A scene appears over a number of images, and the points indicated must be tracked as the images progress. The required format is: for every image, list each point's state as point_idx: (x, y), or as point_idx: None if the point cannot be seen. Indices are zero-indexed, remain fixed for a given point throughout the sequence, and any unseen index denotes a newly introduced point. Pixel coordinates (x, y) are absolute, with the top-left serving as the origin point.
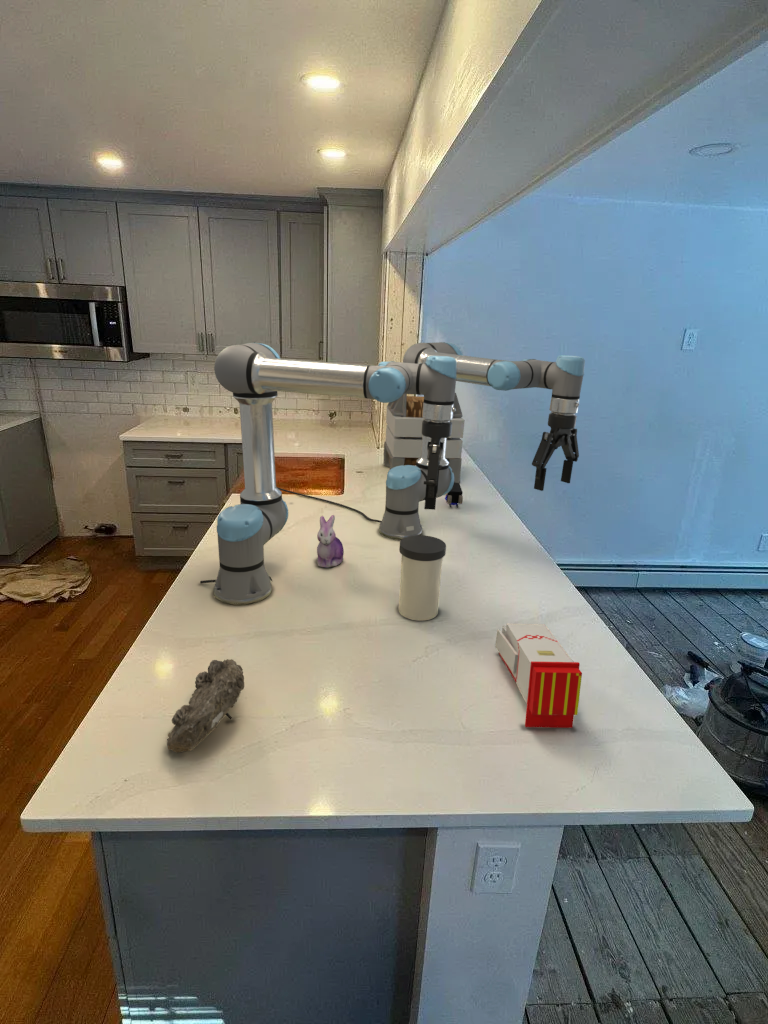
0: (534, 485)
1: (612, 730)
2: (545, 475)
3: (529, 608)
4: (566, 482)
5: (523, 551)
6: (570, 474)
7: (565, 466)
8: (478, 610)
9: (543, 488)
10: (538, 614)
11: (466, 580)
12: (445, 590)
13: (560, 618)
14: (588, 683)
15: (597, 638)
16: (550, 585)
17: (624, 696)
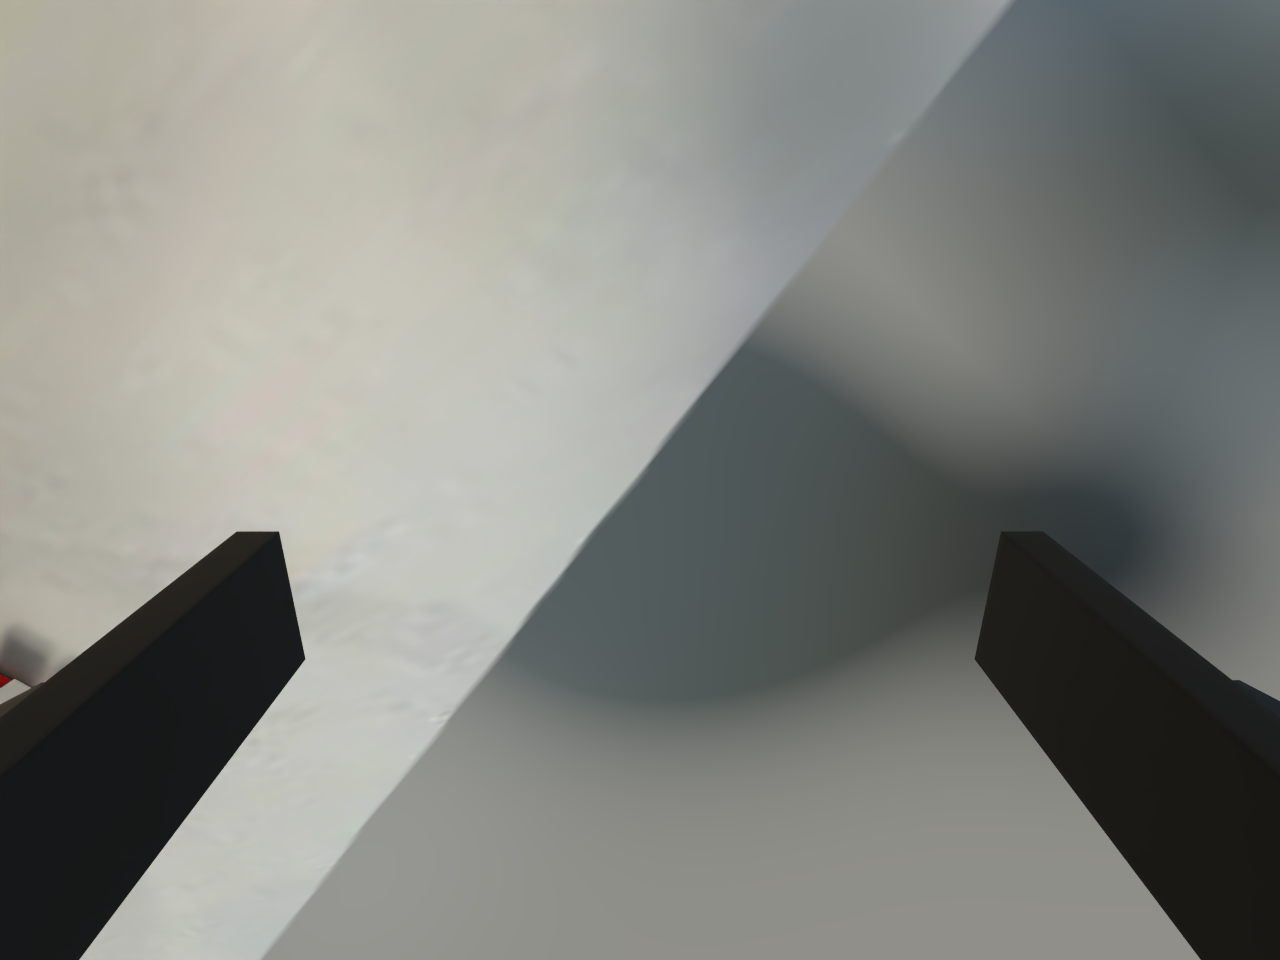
0: (206, 560)
1: None
2: (148, 863)
3: (298, 529)
4: (981, 631)
5: (831, 79)
6: (1070, 764)
7: (1186, 767)
8: (67, 411)
9: (285, 679)
10: (296, 577)
11: (198, 149)
12: (13, 164)
13: (353, 640)
14: None
15: (363, 771)
16: (561, 460)
17: (188, 922)
